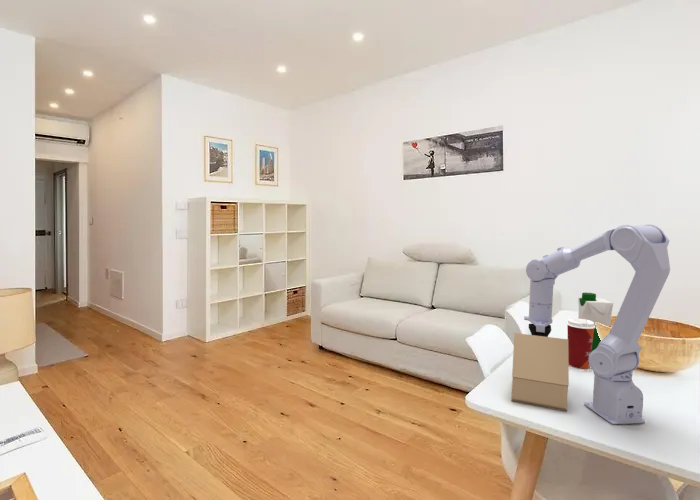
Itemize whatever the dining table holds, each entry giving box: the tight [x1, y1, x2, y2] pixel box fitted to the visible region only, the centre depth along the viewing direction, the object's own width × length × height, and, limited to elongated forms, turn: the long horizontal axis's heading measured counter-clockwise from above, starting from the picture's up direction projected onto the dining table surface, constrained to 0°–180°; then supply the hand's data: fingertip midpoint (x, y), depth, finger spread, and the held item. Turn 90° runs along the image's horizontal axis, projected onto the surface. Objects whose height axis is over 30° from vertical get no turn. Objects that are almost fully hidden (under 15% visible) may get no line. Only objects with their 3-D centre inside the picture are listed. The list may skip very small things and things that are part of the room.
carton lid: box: [511, 332, 570, 387], centre depth 96 cm, size 11×12×1 cm
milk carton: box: [577, 292, 614, 352], centre depth 131 cm, size 9×9×20 cm
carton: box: [511, 377, 569, 412], centre depth 99 cm, size 11×12×6 cm
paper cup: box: [566, 317, 595, 370], centre depth 120 cm, size 8×8×14 cm
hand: (538, 350), depth 108 cm, fingers closed
